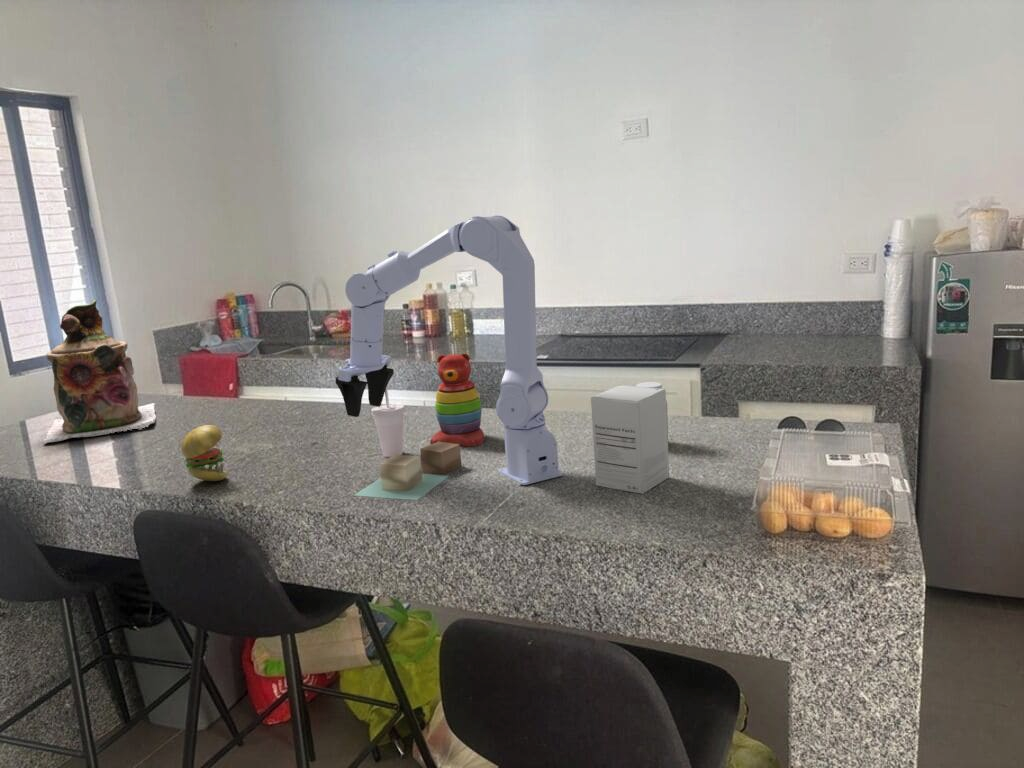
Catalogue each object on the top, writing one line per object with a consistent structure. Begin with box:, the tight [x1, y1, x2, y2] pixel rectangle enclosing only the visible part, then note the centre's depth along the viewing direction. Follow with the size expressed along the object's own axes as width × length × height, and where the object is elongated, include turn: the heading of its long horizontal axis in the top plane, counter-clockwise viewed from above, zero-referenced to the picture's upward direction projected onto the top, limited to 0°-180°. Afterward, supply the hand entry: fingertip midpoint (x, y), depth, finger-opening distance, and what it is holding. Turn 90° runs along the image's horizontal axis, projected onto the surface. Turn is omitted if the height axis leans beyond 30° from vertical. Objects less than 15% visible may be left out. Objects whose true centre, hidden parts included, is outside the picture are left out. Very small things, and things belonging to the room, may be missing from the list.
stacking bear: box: [429, 353, 485, 447], centre depth 152 cm, size 11×10×18 cm
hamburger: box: [180, 421, 228, 482], centre depth 137 cm, size 8×7×12 cm
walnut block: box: [419, 442, 462, 475], centre depth 135 cm, size 5×5×4 cm
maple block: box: [379, 454, 423, 491], centre depth 127 cm, size 5×5×4 cm
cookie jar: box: [42, 299, 157, 445], centre depth 188 cm, size 25×25×32 cm
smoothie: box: [370, 386, 406, 458], centre depth 145 cm, size 6×6×14 cm
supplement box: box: [590, 385, 670, 495], centre depth 120 cm, size 9×9×15 cm
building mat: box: [352, 473, 450, 501], centre depth 128 cm, size 12×12×1 cm
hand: (364, 410), depth 140 cm, fingers open, 7 cm apart
